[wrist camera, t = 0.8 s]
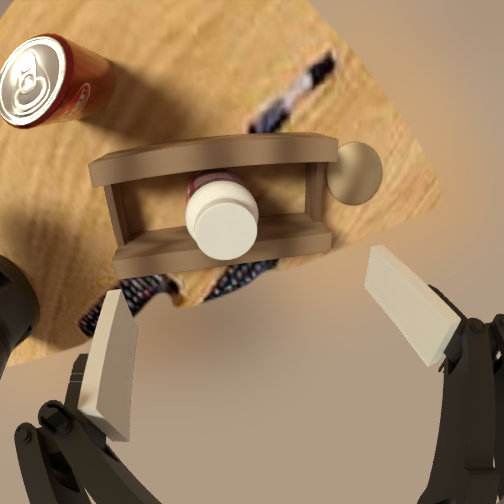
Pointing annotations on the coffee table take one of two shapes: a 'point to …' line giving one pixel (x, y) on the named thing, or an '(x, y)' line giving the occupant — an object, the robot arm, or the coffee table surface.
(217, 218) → the pill bottle
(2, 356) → the robot arm
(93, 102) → the soda can
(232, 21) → the coffee table surface
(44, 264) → the coffee table surface
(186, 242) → the pocket block
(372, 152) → the coaster
